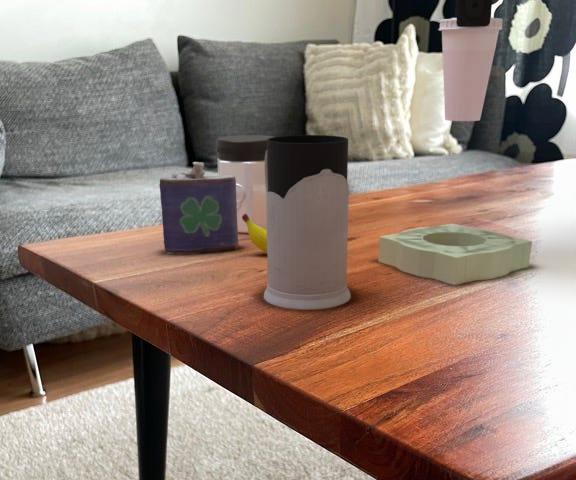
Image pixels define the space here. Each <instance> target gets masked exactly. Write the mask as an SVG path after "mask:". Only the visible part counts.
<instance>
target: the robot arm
mask: <svg viewBox="0 0 576 480" xmlns="http://www.w3.org/2000/svg"><path fill="white" fill-rule="evenodd" d="M492 7H493V0H455V10H454V18H457V21H456V24H457V26H458V27H486V26H488V25H489V24H490V18H492Z"/></svg>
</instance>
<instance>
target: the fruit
mask: <svg viewBox="0 0 576 480" xmlns="http://www.w3.org/2000/svg"><path fill="white" fill-rule="evenodd" d="M242 219H243V220H244V221H245V222H246V224H247V226H248V232H249V233H248V237H249V239H250V241H251V243H252V244H253V245H254V246H255V247H256V248H258V249H259V250H261V251H262V252H265V253H267V230H265V229H263V228H262V227H260V226H258V225H256V224H254V223H253V222H252V221H251V220H250V219H249V217H248V216H247V214H244V215H243V216H242Z"/></svg>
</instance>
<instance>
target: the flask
mask: <svg viewBox="0 0 576 480" xmlns="http://www.w3.org/2000/svg"><path fill="white" fill-rule="evenodd" d="M204 163H205V162H201V161H200V162H199V161H194V162H193V161H192V165H193V167H192V169H191V170H190V171H188V172H179V173H176V172H173V173H172V174H171V176H164V177H163V176H162V177H161V178H159V184H158V185H159V186H158V187H159V194H160V196H159V199H160V205H161V217H162V218H161V219H162V230H163V231H162V235H163V245H164V250H165V254H166V255H197V254H203V253H208V254H210V253H219V252H230V251H236V250H238V249H239V233H238V226H237V201H236V180H235V179H236V178H235V176H233V175H218V174H217V175H205V173H206V171H205V170H204V169H203V167H205V164H204ZM180 174H181V175H182V176H181V175H180Z"/></svg>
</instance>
